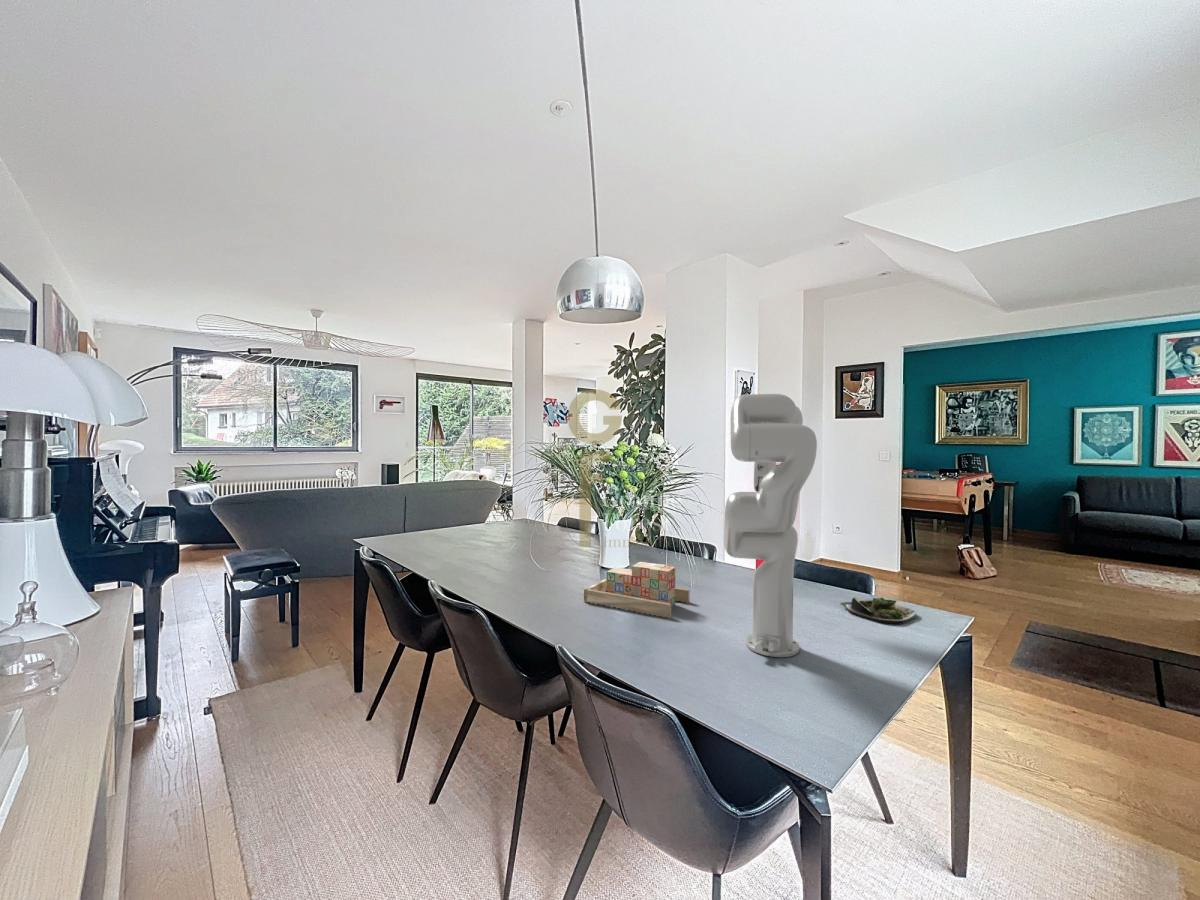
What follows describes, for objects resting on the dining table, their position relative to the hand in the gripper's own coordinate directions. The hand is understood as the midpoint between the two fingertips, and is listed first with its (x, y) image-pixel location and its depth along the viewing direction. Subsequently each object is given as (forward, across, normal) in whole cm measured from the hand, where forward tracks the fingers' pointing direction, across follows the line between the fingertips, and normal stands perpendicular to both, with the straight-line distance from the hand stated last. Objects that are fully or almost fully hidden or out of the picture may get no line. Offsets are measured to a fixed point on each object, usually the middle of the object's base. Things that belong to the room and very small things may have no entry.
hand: (764, 514), depth 154 cm
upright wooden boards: (+29, -12, +37) cm, 48 cm away
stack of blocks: (+30, -11, +36) cm, 48 cm away
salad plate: (+30, +14, -30) cm, 44 cm away
